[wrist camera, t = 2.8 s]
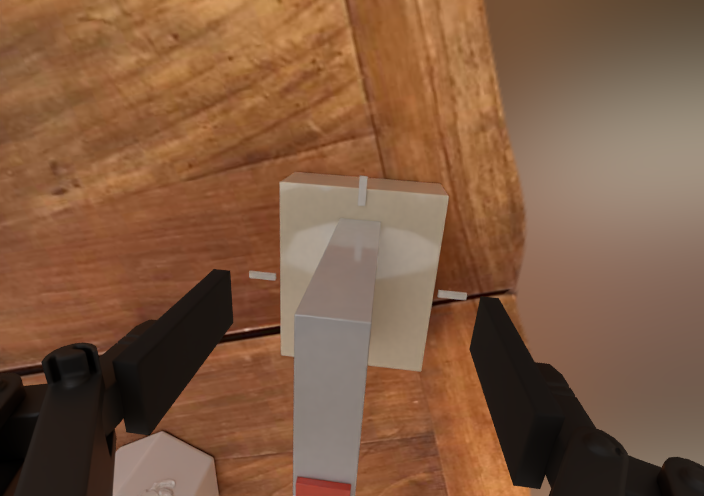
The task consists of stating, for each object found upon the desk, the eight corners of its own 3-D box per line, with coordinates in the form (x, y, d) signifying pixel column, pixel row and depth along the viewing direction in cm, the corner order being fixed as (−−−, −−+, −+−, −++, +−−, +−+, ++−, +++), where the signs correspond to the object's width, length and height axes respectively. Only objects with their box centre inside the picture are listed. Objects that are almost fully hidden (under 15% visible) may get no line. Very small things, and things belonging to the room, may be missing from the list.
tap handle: (339, 217, 18) (291, 319, 9) (381, 221, 18) (371, 328, 9) (333, 339, 20) (290, 509, 12) (369, 344, 20) (352, 518, 12)
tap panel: (266, 158, 20) (244, 166, 17) (473, 174, 19) (488, 186, 17) (269, 331, 24) (252, 362, 21) (441, 351, 23) (449, 386, 21)
